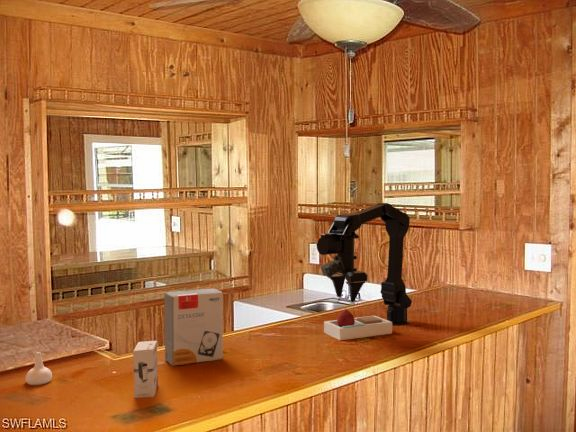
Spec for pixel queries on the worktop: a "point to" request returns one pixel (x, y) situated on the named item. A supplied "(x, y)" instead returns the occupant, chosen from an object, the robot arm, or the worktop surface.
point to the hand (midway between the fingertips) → (345, 299)
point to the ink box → (145, 369)
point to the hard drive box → (193, 326)
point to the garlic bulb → (38, 373)
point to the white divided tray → (359, 328)
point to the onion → (345, 318)
